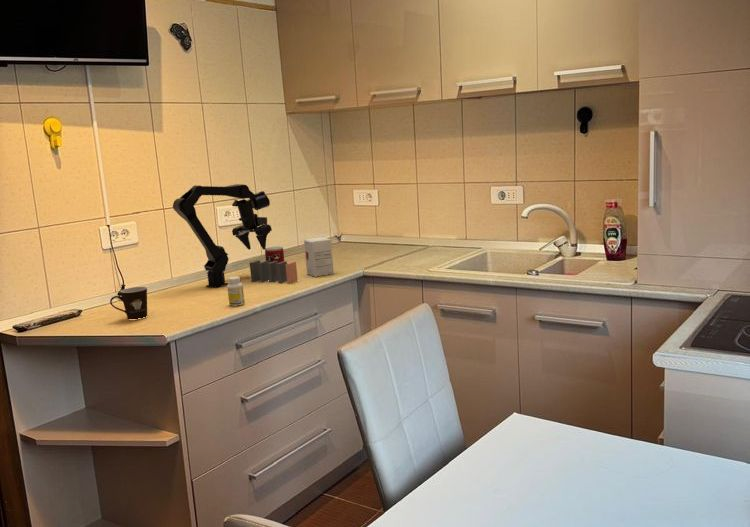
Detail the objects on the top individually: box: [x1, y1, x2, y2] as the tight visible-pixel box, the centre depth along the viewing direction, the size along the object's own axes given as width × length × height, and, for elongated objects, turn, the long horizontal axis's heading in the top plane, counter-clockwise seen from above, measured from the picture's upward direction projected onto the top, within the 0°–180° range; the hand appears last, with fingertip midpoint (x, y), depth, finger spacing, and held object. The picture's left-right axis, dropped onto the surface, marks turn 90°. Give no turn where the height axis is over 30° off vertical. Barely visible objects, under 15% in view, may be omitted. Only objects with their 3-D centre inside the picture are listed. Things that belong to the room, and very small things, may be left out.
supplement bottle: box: [226, 276, 245, 307], centre depth 249 cm, size 5×5×10 cm
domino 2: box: [258, 260, 269, 283], centre depth 287 cm, size 5×2×8 cm, turn 152°
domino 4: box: [276, 260, 288, 284], centre depth 282 cm, size 5×2×8 cm, turn 152°
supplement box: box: [303, 236, 335, 278], centre depth 292 cm, size 9×9×15 cm
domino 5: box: [286, 261, 299, 284], centre depth 280 cm, size 5×2×8 cm, turn 152°
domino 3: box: [267, 261, 278, 283], centre depth 284 cm, size 5×2×8 cm, turn 152°
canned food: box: [264, 245, 285, 263], centre depth 302 cm, size 8×8×11 cm
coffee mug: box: [109, 286, 148, 320], centre depth 239 cm, size 12×9×10 cm
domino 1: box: [249, 259, 261, 283], centre depth 289 cm, size 5×2×8 cm, turn 152°
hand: (256, 249), depth 293 cm, fingers open, 9 cm apart
